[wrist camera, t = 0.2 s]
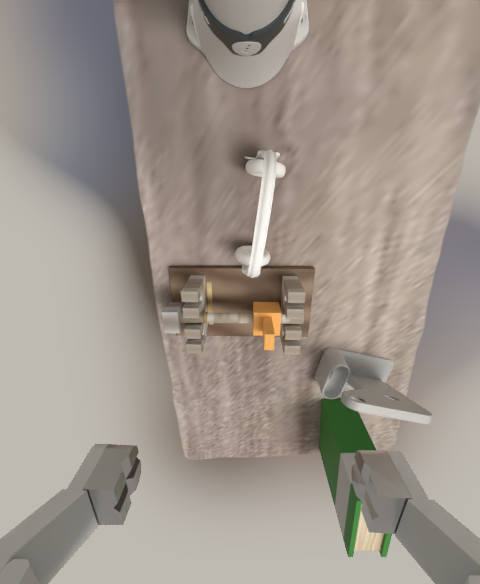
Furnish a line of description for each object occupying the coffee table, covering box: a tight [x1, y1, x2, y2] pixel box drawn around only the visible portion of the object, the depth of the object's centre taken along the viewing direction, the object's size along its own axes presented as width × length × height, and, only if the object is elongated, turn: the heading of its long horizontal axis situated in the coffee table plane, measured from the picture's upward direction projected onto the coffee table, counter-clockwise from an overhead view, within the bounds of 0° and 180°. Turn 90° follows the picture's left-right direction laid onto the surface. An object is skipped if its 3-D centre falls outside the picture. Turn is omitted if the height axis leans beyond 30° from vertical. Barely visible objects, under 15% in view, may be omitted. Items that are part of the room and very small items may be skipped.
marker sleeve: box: [253, 302, 281, 350], centre depth 49 cm, size 5×5×11 cm
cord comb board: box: [162, 266, 315, 355], centre depth 55 cm, size 16×30×10 cm, turn 90°
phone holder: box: [315, 348, 432, 424], centre depth 57 cm, size 17×10×18 cm, turn 78°
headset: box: [235, 149, 286, 278], centre depth 44 cm, size 20×7×18 cm, turn 173°
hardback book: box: [319, 398, 392, 557], centre depth 61 cm, size 18×7×24 cm, turn 4°
